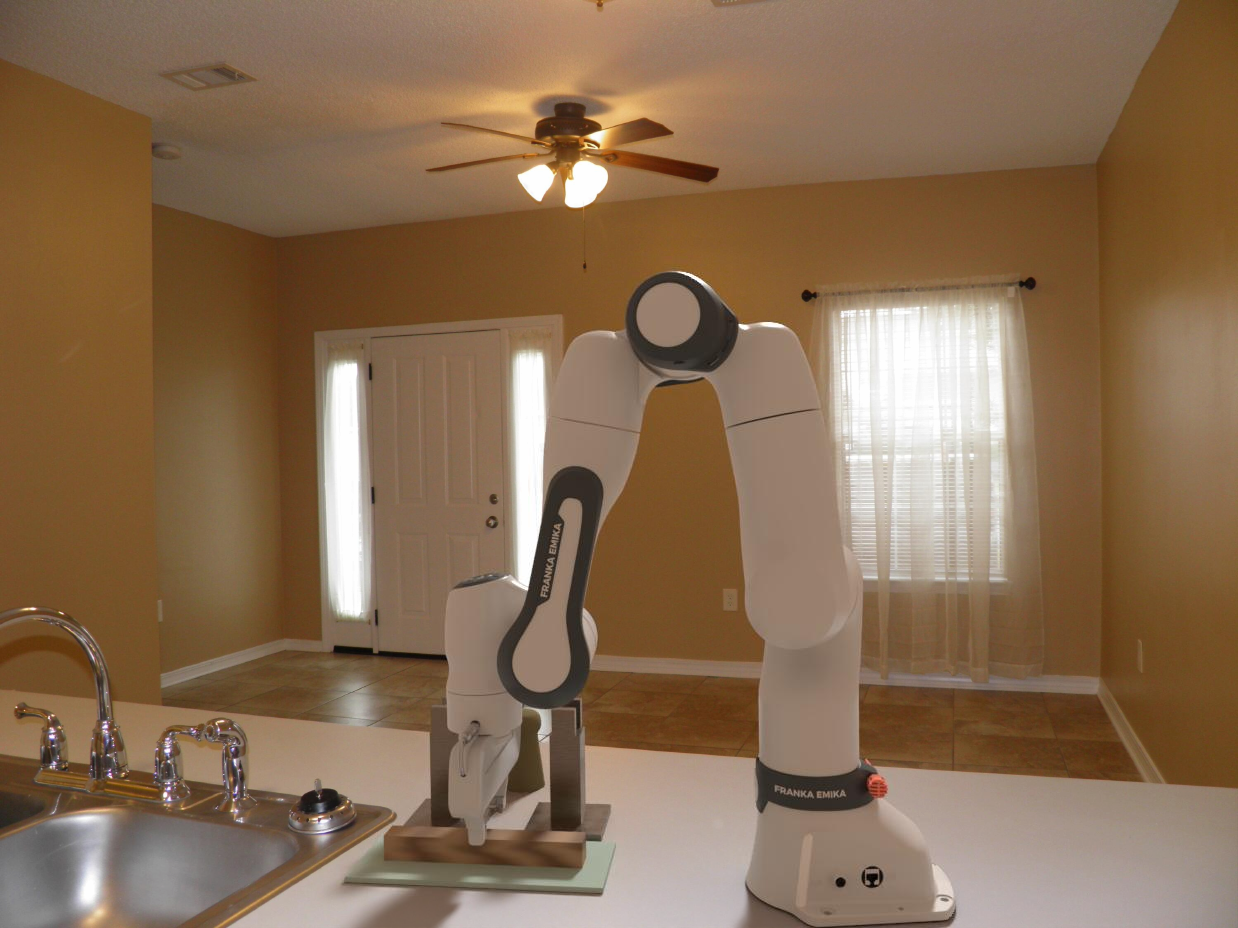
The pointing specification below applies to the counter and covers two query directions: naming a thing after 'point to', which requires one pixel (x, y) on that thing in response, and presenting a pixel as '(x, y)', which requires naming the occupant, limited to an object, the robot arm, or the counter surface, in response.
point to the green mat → (487, 872)
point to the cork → (528, 756)
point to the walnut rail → (486, 847)
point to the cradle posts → (565, 779)
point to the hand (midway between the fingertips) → (488, 825)
